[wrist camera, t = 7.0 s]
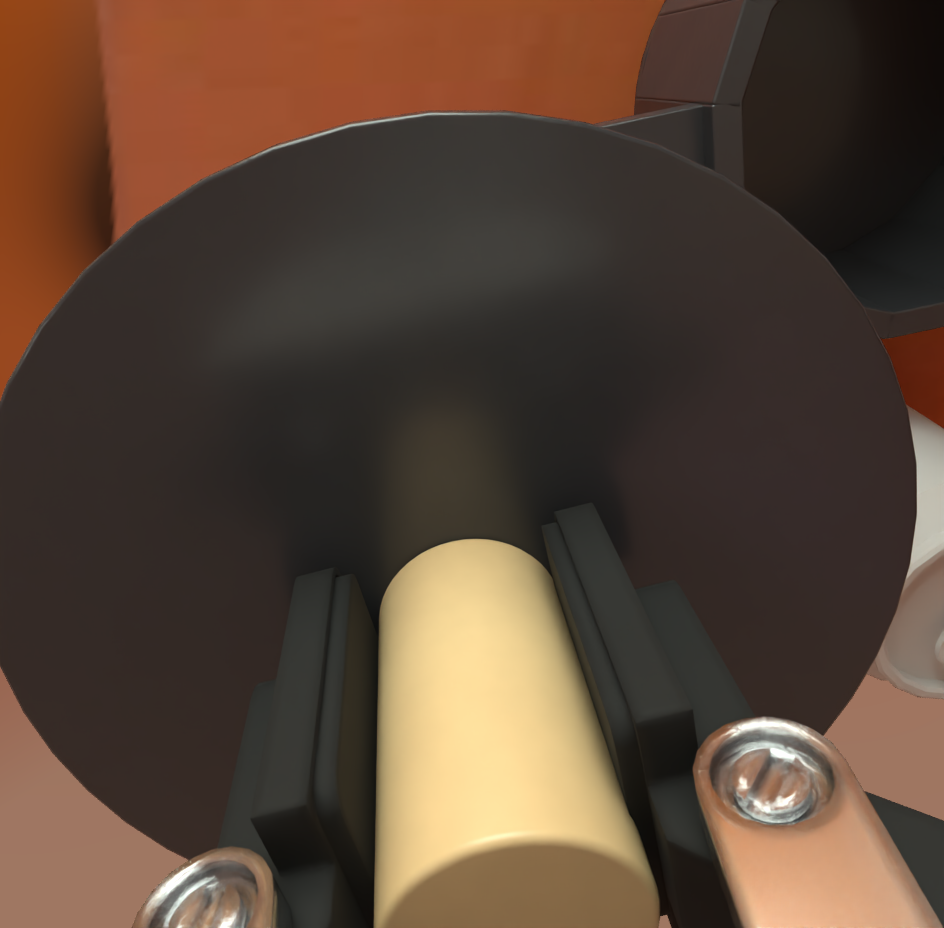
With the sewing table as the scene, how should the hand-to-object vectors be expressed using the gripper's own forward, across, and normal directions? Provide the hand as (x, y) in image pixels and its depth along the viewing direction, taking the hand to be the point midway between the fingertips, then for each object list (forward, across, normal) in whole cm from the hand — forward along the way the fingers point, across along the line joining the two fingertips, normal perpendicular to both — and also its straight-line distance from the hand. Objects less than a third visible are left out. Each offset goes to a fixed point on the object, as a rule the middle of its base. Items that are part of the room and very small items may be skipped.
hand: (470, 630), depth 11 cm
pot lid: (+1, 0, 0) cm, 1 cm away
